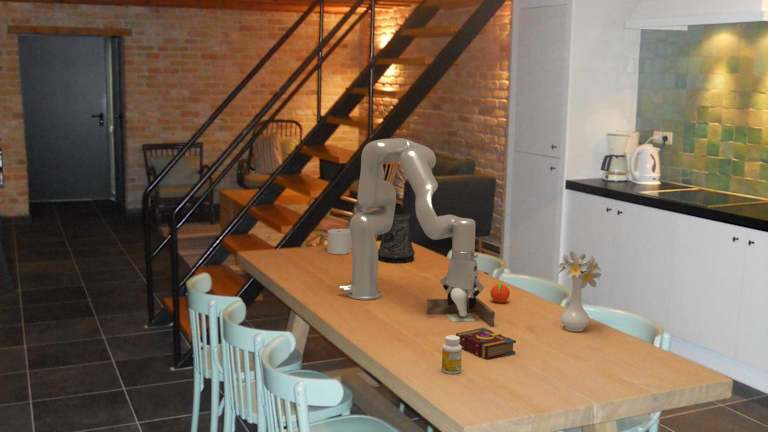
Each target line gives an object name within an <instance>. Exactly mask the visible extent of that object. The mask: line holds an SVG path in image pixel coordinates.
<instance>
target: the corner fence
mask: <svg viewBox="0 0 768 432" xmlns="http://www.w3.org/2000/svg"><path fill="white" fill-rule="evenodd" d="M469 298H470V297H468V300H467V315H466V316H465V317H462V316H460V314H459V310H458V308H457V305H456V304H455V302H454V304H452V305H448V302H447V298H433V299H432V298H431V299H430V298H429V299H428V298H427V300H426V315H444V314H445V316H446V317H447V318H448V319H449V320H450V321H452V323H459V322H460V323H463V322H476V319H475V318H474V317H473V316H472V315H470V314H471V313H474V314H475V315H477V316H478V318H480V319H481V320H482V321H483V322H485V324H486V325H488V326H489V327H490V328H494V327H495V313H496V312H495V311H494V310H493V309H491V307H489V306H488V305H487V304H486V303H484V302H483V301H482V300H481V299H480V298H478V297H476V302H475V306H474V308H472V309H469Z"/></svg>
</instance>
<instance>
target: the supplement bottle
mask: <svg viewBox="0 0 768 432" xmlns="http://www.w3.org/2000/svg"><path fill="white" fill-rule="evenodd" d="M444 342H445V343H444V344H443V345H442V352H441V353H442V355H441V356H442V358H441V371H442V372H443V373H445V374H450V375H452V374H453V375H454V374H459V373H461V371H462V360H463V359H462V357H463V354H462V353H463V350H462V347H461V345H460V344H459V342H460V337H458V336H456V335H453V334H451V335H450V334H449V335H446V336H445V341H444Z"/></svg>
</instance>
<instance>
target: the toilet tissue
mask: <svg viewBox="0 0 768 432" xmlns="http://www.w3.org/2000/svg"><path fill="white" fill-rule="evenodd" d="M326 232H327V234H326V235H327V239H326V241H327V245H326V246H327V247H326V248H327V250H326V251H327V252H326V253H328V254H333V255H346V254H347V253H348V254H351V250H352V236H351V231H350V228H332V229H327V231H326Z"/></svg>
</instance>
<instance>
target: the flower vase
mask: <svg viewBox="0 0 768 432" xmlns="http://www.w3.org/2000/svg"><path fill="white" fill-rule="evenodd" d="M569 255H570V258H569V257H568V255H566V254H564V255H563V256H562V257H563V258H562V262H561V263H559V264H558V266H557V269H559V270H558V271H557V273H556V275H559V274H560V273H561V272H563V271H565V270H566V269H567V270H569V271H567V272H566V274H565V277H566V279H570V278H571V284H572V287H571V288H572V289H571V297H570V302H569V305H568V307H567V308H566V309H565V310H563V312H562V313H561V315H560V322H561V324H562V325H563V326H564V329H565V330H566V331H569V332H574V333H576V332H583V331H585V328H586V327H587V326H588V325H589V324H590V320H591V319H590V316H589V315H588V313H587V312H586V310H585V309H584V307H583V303H582V290H583V289H585V288H586V287H587V285H588V284H589V286H590V287H593V288H596V287H597V281H596V280H595V279H597V280H598V281H600V280H601V278H600V277H601V275H602V273H601V270H602V269H601V267H599V263H598V262H597V261H596V260H595V257H594V256H593V255H592V254H591V255H590V259H588V260H587V261H584V260H585V258H586V256H587V255H586V254H585V253H581V254H579V255H578V256H577V254H576V253H575V252H574V251H573V250H570V251H569Z"/></svg>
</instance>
